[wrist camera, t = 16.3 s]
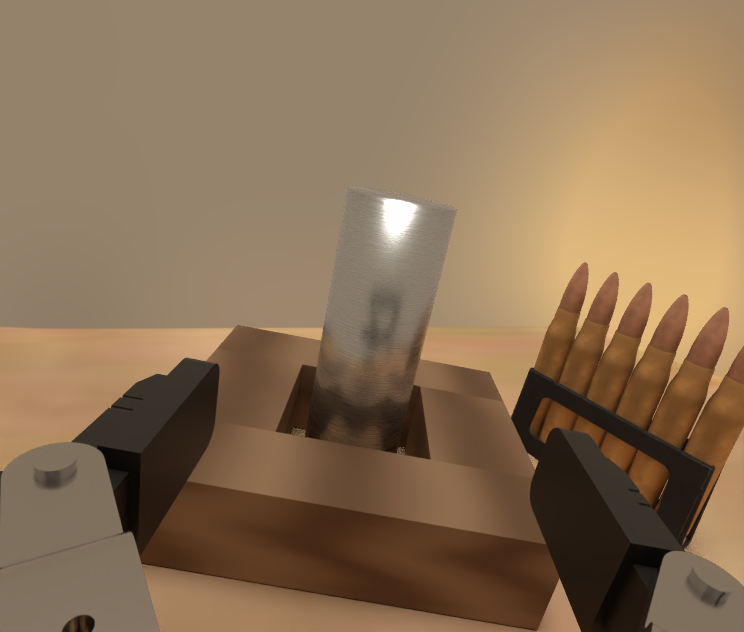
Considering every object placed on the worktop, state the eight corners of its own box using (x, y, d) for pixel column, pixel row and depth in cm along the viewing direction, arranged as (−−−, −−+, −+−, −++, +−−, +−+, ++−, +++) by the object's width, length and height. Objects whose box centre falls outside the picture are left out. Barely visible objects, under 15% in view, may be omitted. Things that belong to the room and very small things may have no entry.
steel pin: (388, 455, 26) (449, 203, 22) (388, 515, 22) (465, 215, 17) (307, 440, 26) (351, 183, 22) (291, 497, 22) (342, 190, 17)
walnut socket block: (473, 426, 31) (489, 372, 30) (537, 630, 18) (571, 548, 16) (231, 381, 30) (237, 325, 29) (112, 557, 17) (113, 468, 16)
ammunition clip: (689, 544, 24) (803, 329, 20) (675, 557, 23) (792, 332, 19) (520, 429, 32) (579, 258, 28) (503, 435, 31) (562, 257, 27)
